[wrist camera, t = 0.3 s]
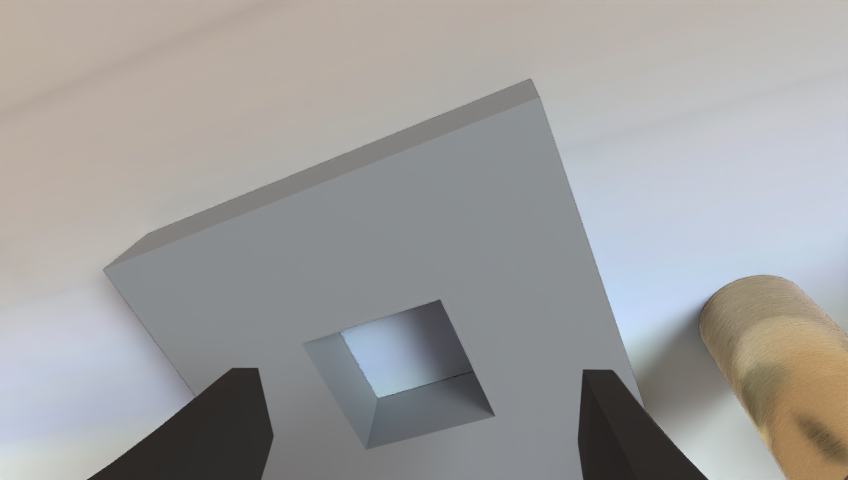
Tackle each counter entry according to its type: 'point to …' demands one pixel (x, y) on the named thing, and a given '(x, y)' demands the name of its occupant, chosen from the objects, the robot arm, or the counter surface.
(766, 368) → the brass sleeve
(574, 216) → the jig block
